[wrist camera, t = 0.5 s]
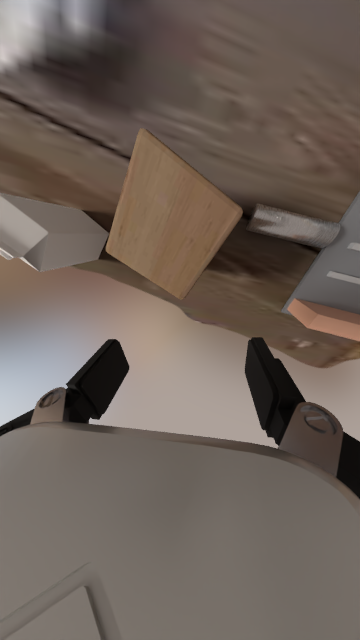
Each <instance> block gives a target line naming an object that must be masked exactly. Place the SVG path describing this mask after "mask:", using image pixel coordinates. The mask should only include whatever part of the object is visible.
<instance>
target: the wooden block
mask: <svg viewBox="0 0 360 640" xmlns="http://www.w3.org/2000/svg"><path fill="white" fill-rule="evenodd" d="M242 214H243V210H242V208H241V207H240V206H239V205H238V204H237V203H235V202H234V201H233V200H232V199H231V198H229V197H228V196H227V195H226V194H225V193H223V192H222V191H221V190H220V189H218V188H217V187H216V186H215V185H214V184H212V183H211V182H210V181H209V180H208V179H206V178H205V177H204V176H203V175H201V174H200V173H199V172H198V171H197V170H195V169H194V168H193V167H192V166H191V165H189V164H188V163H187V162H186V161H184V160H183V159H182V158H181V157H180V156H178V155H177V154H176V153H175V152H174V151H172V150H171V149H170V148H169V147H167V146H166V145H165V144H164V143H163V142H161V141H160V140H159V139H158V138H157V137H155V136H154V135H153V134H152V133H151V132H149V131H148V130H146V129H142V128H141V129H140V131H139V132H138V135H137V139H136V143H135V146H134V150H133V153H132V157H131V160H130V164H129V167H128V171H127V174H126V178H125V181H124V185H123V189H122V192H121V196H120V199H119V203H118V206H117V210H116V213H115V217H114V220H113V224H112V227H111V231H110V234H109V238H108V242H107V245H106V251H107V253H109V254H110V255H112V256H113V257H115V258H116V259H118V260H120V261H121V262H123V263H124V264H126V265H127V266H129V267H130V268H132V269H134V270H135V271H137V272H138V273H140V274H141V275H143V276H145V277H146V278H148V279H149V280H151V281H152V282H154V283H155V284H157V285H159V286H160V287H162V288H163V289H165V290H166V291H168V292H169V293H171V294H173V295H174V296H176V297H177V298H179V299H181V300H183V299H184V298H185V297H186V296H187V295H188V293H189V292H190V290H191V289H192V287H193V286H194V285H195V283H196V282H197V280H198V279H199V277H200V276H201V274H202V273H203V272H204V270H205V269H206V267H207V266H208V264H209V263H210V262H211V260H212V259H213V257H214V256H215V254H216V253H217V251H218V250H219V249H220V247H221V246H222V244H223V243H224V241H225V240H226V239H227V237H228V236H229V234H230V233H231V231H232V230H233V229H234V227H235V226H236V224H237V223H238V221H239V220H240V218H241V217H242Z"/></svg>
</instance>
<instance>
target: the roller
mask: <svg viewBox="0 0 360 640" xmlns="http://www.w3.org/2000/svg"><path fill="white" fill-rule="evenodd" d="M246 230H248V231H252V232H256V233H260V234H264V235H268V236H272V237H276V238H280V239H284V240H288V241H292V242H296V243H301V244H305V245H309V246H313V247H317V248H324V247H326V246H327V245H329V244H330V243H331V242H332V241H333V240H334V239H335V238H336V236H337V235H338V233H339V231H340V224H339V223H335V222H331V221H327V220H323V219H319V218H315V217H311V216H306V215H302V214H298V213H294V212H290V211H286V210H282V209H278V208H274V207H269V206H265V205H261V204H256V205H255V207H254V209H253V210H252V212H251V215H250V218H249V220H248V223H247V226H246Z"/></svg>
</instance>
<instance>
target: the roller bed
mask: <svg viewBox="0 0 360 640" xmlns="http://www.w3.org/2000/svg"><path fill="white" fill-rule="evenodd" d="M339 224H340V231H339V233H338V235H337V236H336V238H335V239H334V240H333V241H332V242H331V243H330V244H329V245H327V246H326V247H324V248H322V249H321V251H320V252H319V254H318V255H317V257H316V259H315V260H314V262H313V263H312V265H311V266H310V268H309V269H308V271H307V272H306V274H305V275H304V277H303V278H302V280H301V281H300V283H299V284H298V286H297V287H296V289H295V290H294V292H293V293H292V295H291V297H290V298H289V300H288V301H287V303H286V304H285V306H284V307H283V309H282V310H281V312H282V313H286V314H290V315H294V316H295V317H296V318H297V319H298V320H299V321H300V322H301V323H303V324H304V325H305V326H306V327H307V328H310V329H314V330H318V331H322V332H326V333H330V334H334V335H338V336H342V337H345V338H349V339H353V340H357V341H360V192H359V193H358V195H357V196H356V198H355V199H354V201H353V202H352V204H351V205H350V207H349V208H348V210H347V211H346V213H345V214H344V216H343V217H342V219H341V221H340V222H339Z"/></svg>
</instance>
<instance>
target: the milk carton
mask: <svg viewBox="0 0 360 640" xmlns="http://www.w3.org/2000/svg"><path fill="white" fill-rule="evenodd" d="M108 235H109V233H108V232H107V231H106V230H104V229H103V228H102V227H101V226H100V225H98V224H97V223H96V222H95V221H94V220H92V219H91V218H90V217H89V216H88V215H87V214H85V213H84V212H83V211H82V210H79V209H75V208H70V207H65V206H60V205H56V204H51V203H46V202H41V201H37V200H32V199H27V198H22V197H17V196H13V195H8V194H3V193H0V255H2V256H3V257H5V258H6V259H8V260H10V259H12V258H17V257H19V258H20V259H22V260H23V261H24V262H26V263H27V264H29V265H30V266H32V267H33V268H35V269H36V270H38V271H39V272H43V271H48V270H51V269H57V268H61V267H66V266H70V265H75V264H79V263H84V262H88V261H93V260H97V259H98V258H99V256H100V254H101V251H102V249H103V247H104V244H105V242H106V240H107V238H108Z"/></svg>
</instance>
